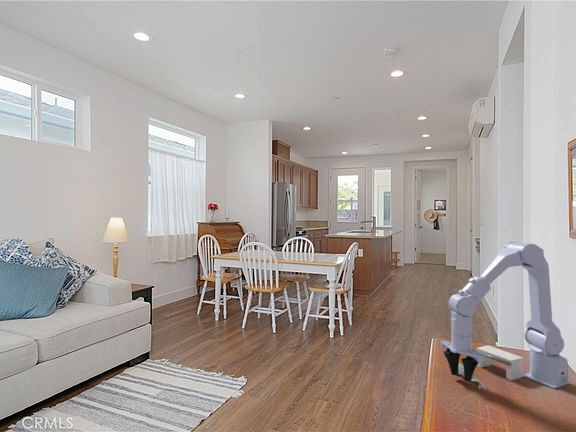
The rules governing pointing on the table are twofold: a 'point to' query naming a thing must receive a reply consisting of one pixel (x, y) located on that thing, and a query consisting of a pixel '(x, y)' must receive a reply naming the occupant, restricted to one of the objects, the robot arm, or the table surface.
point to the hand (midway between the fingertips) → (461, 377)
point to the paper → (474, 376)
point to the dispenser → (502, 361)
